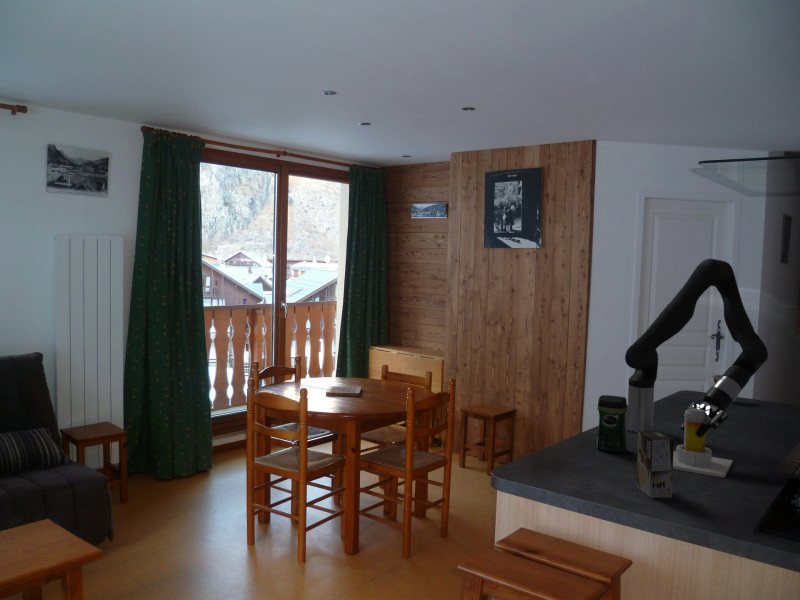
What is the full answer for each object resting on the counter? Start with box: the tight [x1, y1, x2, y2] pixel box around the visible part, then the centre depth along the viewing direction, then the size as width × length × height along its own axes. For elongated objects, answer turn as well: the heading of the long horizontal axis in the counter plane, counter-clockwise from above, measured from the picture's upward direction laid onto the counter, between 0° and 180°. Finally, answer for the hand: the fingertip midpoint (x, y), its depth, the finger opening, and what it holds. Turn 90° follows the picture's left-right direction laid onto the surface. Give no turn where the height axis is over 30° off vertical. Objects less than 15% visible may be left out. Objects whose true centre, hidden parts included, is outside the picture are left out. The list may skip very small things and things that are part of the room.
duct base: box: [673, 443, 733, 479], centre depth 202 cm, size 20×18×5 cm
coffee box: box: [636, 430, 675, 499], centre depth 175 cm, size 9×6×16 cm
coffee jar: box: [596, 394, 628, 453], centre depth 217 cm, size 10×8×19 cm
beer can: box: [683, 407, 707, 452], centre depth 202 cm, size 6×6×15 cm
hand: (690, 432), depth 201 cm, fingers closed on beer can, 6 cm apart
